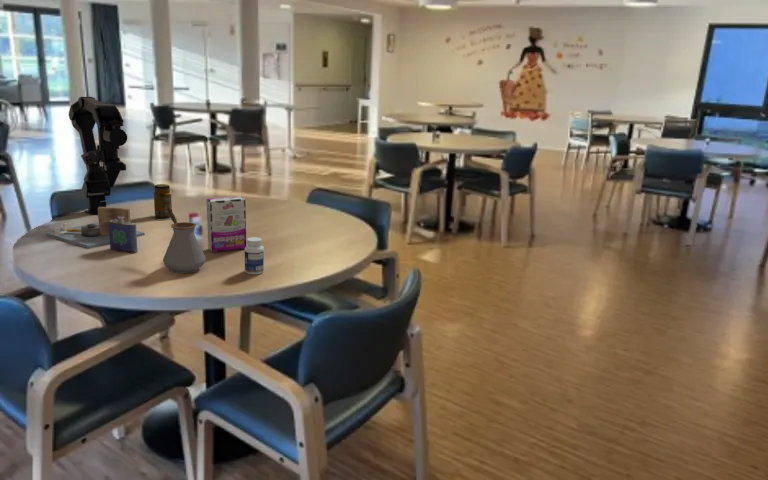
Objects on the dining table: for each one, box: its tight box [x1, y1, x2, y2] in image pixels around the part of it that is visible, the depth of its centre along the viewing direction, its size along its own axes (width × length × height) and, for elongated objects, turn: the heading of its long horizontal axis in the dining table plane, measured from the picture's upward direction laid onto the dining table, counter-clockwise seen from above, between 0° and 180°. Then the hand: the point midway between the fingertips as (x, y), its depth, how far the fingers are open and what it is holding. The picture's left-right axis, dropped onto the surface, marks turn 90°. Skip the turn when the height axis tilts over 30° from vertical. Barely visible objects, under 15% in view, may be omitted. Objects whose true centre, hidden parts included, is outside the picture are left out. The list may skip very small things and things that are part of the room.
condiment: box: [150, 183, 178, 221], centre depth 215 cm, size 7×8×12 cm
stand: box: [45, 221, 145, 249], centre depth 189 cm, size 22×20×3 cm
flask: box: [109, 217, 139, 254], centre depth 175 cm, size 9×3×11 cm, turn 74°
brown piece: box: [67, 206, 131, 236], centre depth 186 cm, size 20×6×9 cm, turn 88°
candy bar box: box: [206, 196, 247, 253], centre depth 182 cm, size 11×5×16 cm, turn 122°
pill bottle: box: [244, 236, 265, 275], centre depth 164 cm, size 5×5×10 cm
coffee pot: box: [162, 206, 207, 274], centre depth 166 cm, size 21×12×15 cm, turn 34°
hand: (111, 187), depth 203 cm, fingers closed
